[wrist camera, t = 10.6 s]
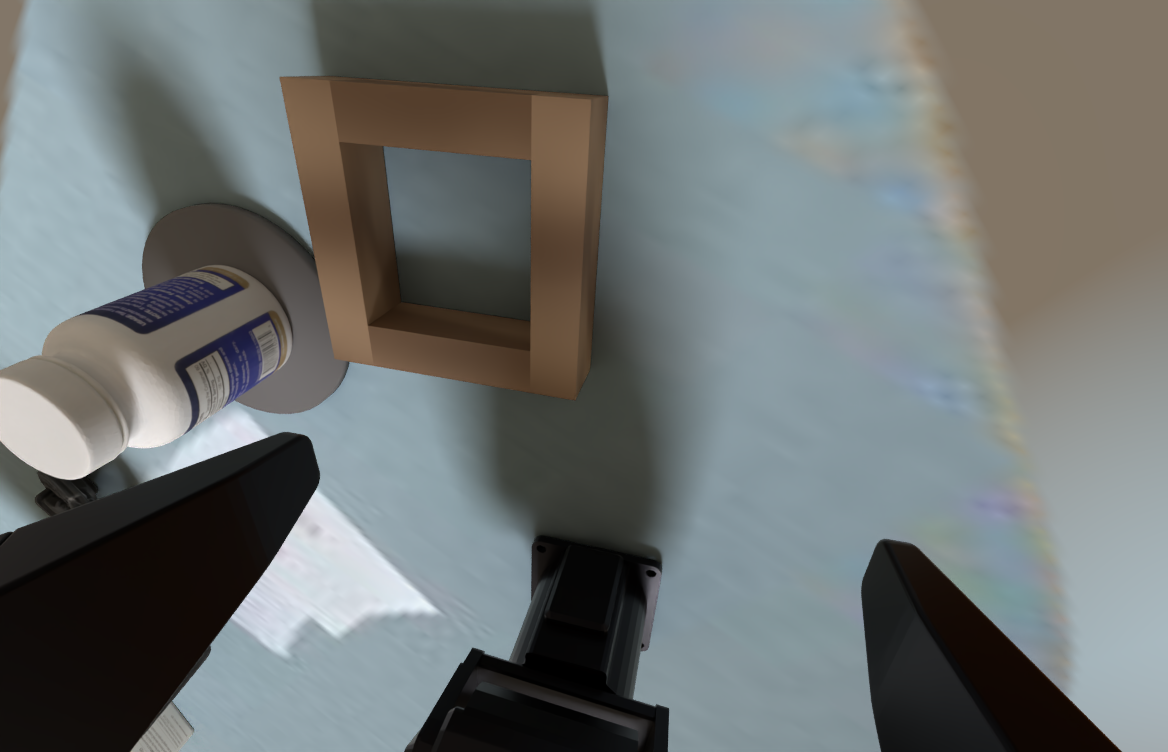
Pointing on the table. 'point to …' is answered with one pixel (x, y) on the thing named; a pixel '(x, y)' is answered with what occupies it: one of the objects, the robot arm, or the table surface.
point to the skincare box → (166, 733)
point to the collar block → (365, 236)
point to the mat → (280, 268)
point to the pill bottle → (141, 370)
